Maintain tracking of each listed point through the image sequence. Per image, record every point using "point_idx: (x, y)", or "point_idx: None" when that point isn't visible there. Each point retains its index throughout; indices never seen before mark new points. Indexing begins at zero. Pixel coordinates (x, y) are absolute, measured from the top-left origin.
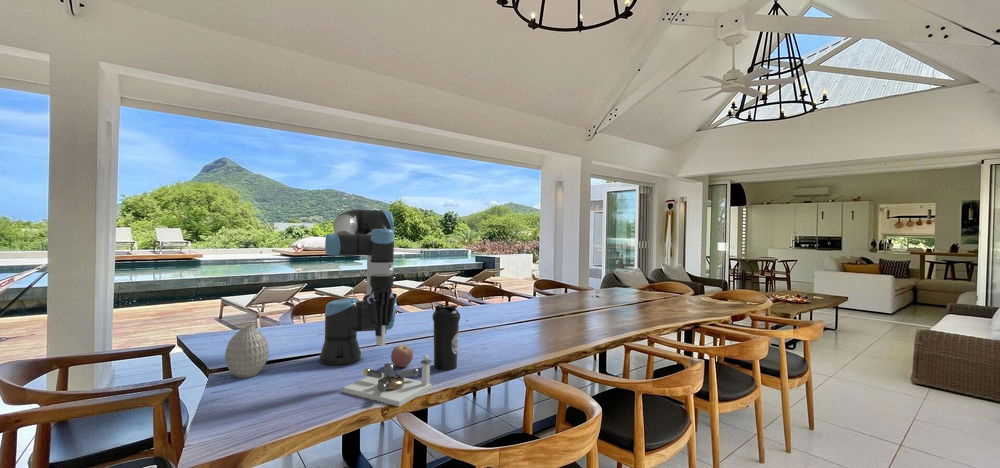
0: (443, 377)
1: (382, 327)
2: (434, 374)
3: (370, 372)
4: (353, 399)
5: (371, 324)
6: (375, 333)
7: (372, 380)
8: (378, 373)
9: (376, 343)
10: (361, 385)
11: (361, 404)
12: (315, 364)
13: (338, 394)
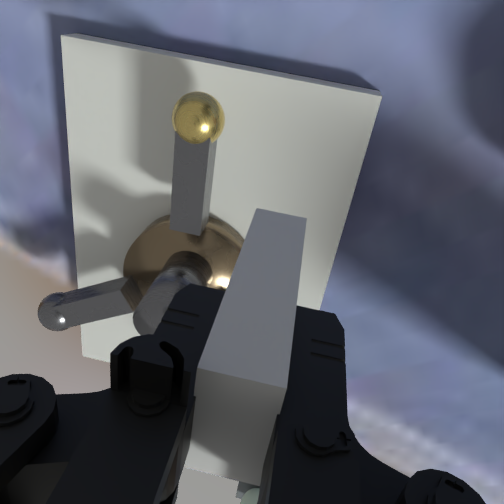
0: (439, 402)
1: (191, 450)
2: (478, 360)
3: (174, 165)
4: (43, 147)
5: (4, 388)
6: (172, 302)
7: (225, 140)
8: (170, 229)
9: (251, 221)
10: (134, 123)
11: (29, 211)
12: None
13: (41, 25)
